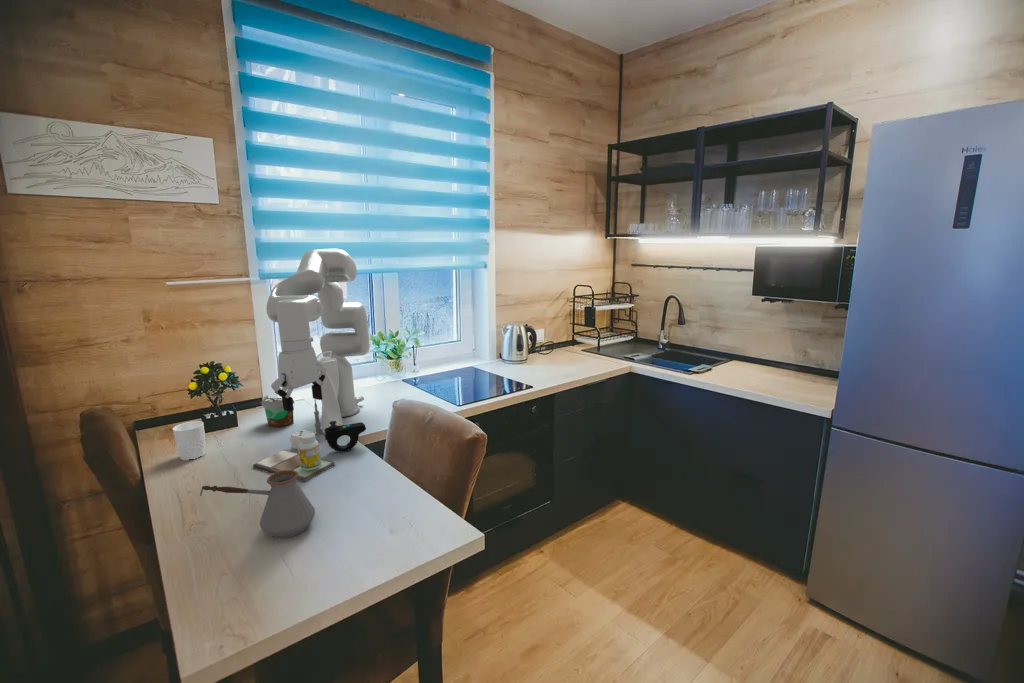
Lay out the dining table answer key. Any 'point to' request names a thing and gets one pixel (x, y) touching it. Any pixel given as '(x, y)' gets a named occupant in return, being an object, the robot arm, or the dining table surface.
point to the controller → (342, 430)
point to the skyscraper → (328, 395)
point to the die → (297, 438)
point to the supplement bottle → (309, 452)
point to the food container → (277, 412)
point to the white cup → (190, 439)
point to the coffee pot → (280, 504)
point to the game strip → (290, 465)
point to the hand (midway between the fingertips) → (303, 404)
